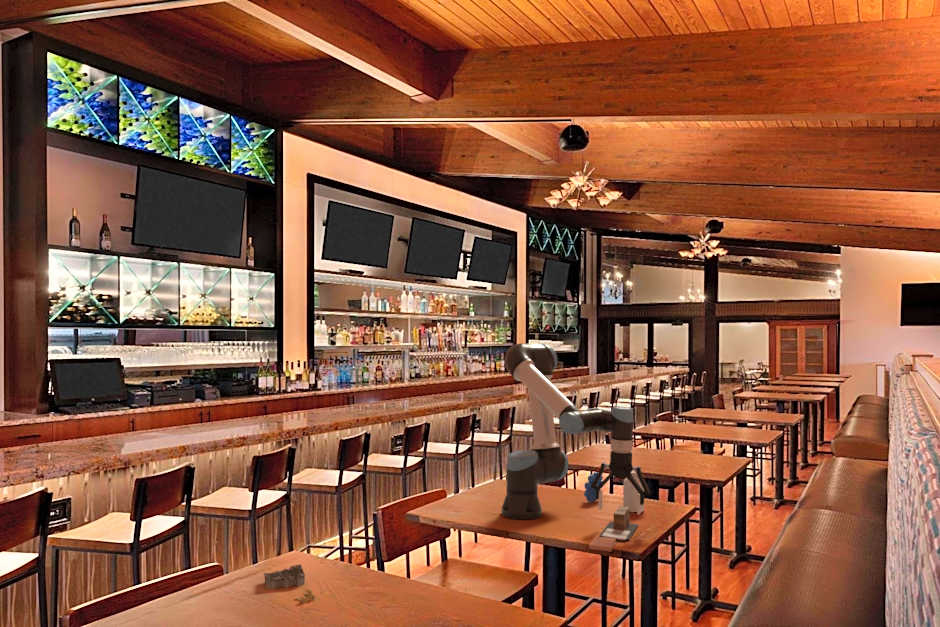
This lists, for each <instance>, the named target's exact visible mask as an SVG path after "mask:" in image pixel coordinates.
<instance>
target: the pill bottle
mask: <svg viewBox="0 0 940 627" xmlns="http://www.w3.org/2000/svg"><path fill="white" fill-rule="evenodd" d="M631 474H632V476H633V478H634V479H635V480H636V482H637V483H638V484H639V486H640V487H641V488H642V490H643V491H644V489H643V487H642V485H641V482H640V480H639V478H638V475H637V473H635V471H634V470H633V471H632V472H631ZM622 485H623V491H622V494H623V495H622V496H623V497H622V498H623V500H622V501H623V504H622V506H625V507H629V513H633V512H637V507H638V495H639V493H638V491H637V490H636V489H635V487H634V486H633V485H632V483H631V482H630V481H629V480H628V479H627V477H626V478H624V480H623V484H622ZM644 511H645V503H644V504H643V505H641V513H642V512H644Z"/></svg>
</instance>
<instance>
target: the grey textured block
mask: <svg viewBox="0 0 940 627" xmlns="http://www.w3.org/2000/svg"><path fill="white" fill-rule="evenodd" d="M263 576H264V585H265V588H266V589H271V590H276V589H277V588H284V589H285V588H286V589H287V588H289V587H291V586H297V587H301V586H302V585H304V584H306V583H305V577H306V574H305V572H304V569H303V566H302V564H295V565H294V564H293V565H291V566H290V567H289V568H284V569H283V570H275V571H272V572H263Z"/></svg>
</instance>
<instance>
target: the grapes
mask: <svg viewBox="0 0 940 627" xmlns="http://www.w3.org/2000/svg"><path fill="white" fill-rule="evenodd" d="M598 473H599V471H594V472H593V473H592V474H590V475H589V476H587V481H586V482H585V483H584V489H585V490H584V492H583V495H584V497H585V498H586V501H587V503H591V502H593V501H595V502H596V501H597V500H598V499H596V490H595V489H594V488H591V485H592V483H593V481H594V480H595V478H596V476H597V474H598ZM603 480H604V479H603V474H602V475H601V477H600V479H599V481H598V482H597V484H596V485H597V486H598V485H599V484H600V483H601V482H602V481H603ZM604 486H605V484H604V485H603V487H604ZM600 490H602V488H601V489H600Z"/></svg>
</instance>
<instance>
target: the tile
mask: <svg viewBox="0 0 940 627" xmlns="http://www.w3.org/2000/svg"><path fill="white" fill-rule="evenodd" d="M615 543H616V544H617V540H616V539H612V538H604V537H599V536H594V538H592V540H591V542H590V543H589V545H588V550H593V551H595V550H596V551H600V552H601V551H602V552H609V553H611V552H612V551H613V549H614V548H613V546H614V545H615V546H616V544H615ZM615 546H614V547H615ZM612 548H613V549H612Z"/></svg>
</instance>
